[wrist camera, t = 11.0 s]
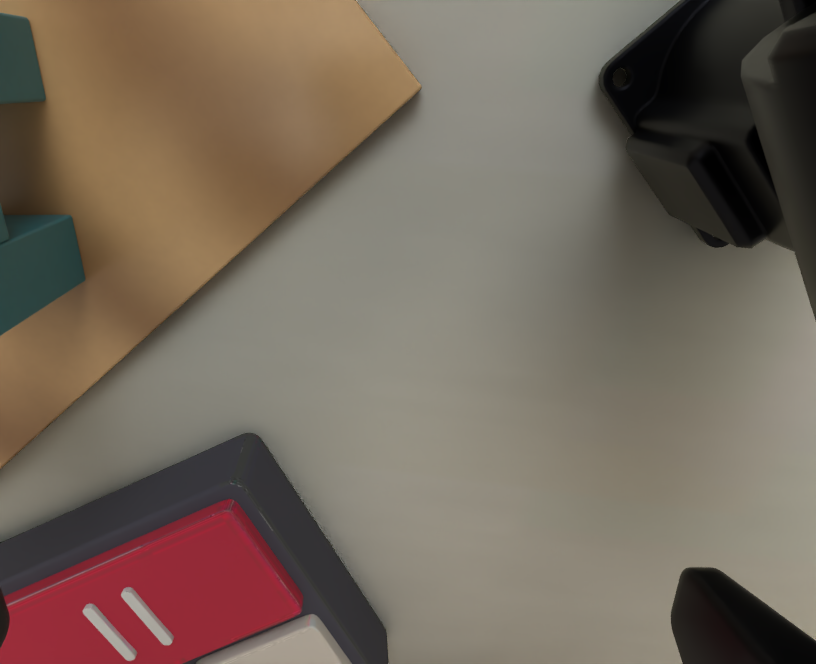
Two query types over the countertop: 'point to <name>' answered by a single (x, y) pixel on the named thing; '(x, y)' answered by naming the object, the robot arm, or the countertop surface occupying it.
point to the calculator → (187, 575)
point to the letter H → (30, 234)
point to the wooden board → (170, 160)
